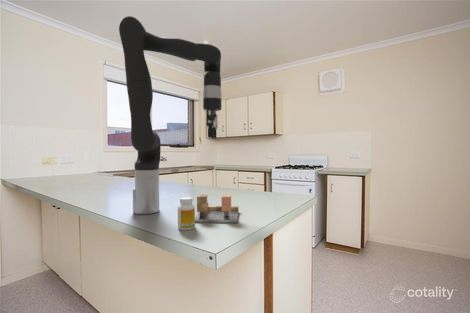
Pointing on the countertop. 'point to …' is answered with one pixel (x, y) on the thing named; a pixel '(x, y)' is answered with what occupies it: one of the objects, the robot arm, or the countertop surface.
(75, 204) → the countertop surface
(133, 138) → the robot arm
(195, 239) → the countertop surface
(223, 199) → the block
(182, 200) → the supplement bottle
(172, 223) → the countertop surface
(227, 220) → the bolt plate
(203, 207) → the gauge rule
